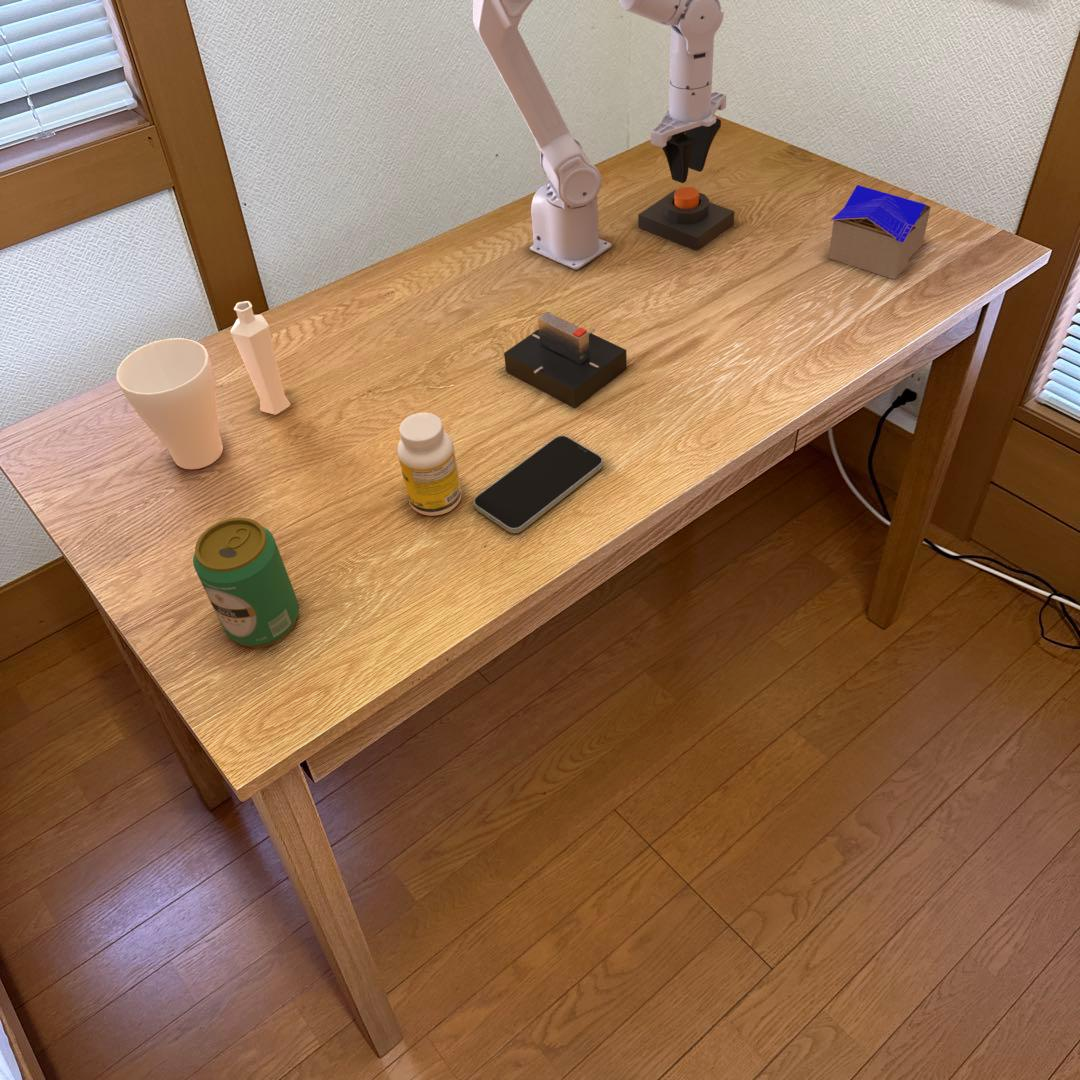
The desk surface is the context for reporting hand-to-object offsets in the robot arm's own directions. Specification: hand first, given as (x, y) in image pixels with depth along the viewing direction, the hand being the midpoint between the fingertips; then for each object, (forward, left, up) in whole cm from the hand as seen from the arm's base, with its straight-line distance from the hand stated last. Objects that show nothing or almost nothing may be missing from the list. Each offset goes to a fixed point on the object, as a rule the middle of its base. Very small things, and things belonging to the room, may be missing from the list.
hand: (687, 174), depth 151 cm
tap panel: (+9, -37, -8) cm, 39 cm away
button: (0, 0, -5) cm, 5 cm away
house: (+26, +10, -8) cm, 29 cm away
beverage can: (+12, -88, -8) cm, 89 cm away
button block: (0, 0, -8) cm, 8 cm away
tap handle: (+9, -37, -5) cm, 38 cm away
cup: (-16, -77, -8) cm, 79 cm away
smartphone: (+21, -55, -8) cm, 59 cm away
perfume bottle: (-16, -65, -8) cm, 67 cm away
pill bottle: (+13, -64, -8) cm, 66 cm away
